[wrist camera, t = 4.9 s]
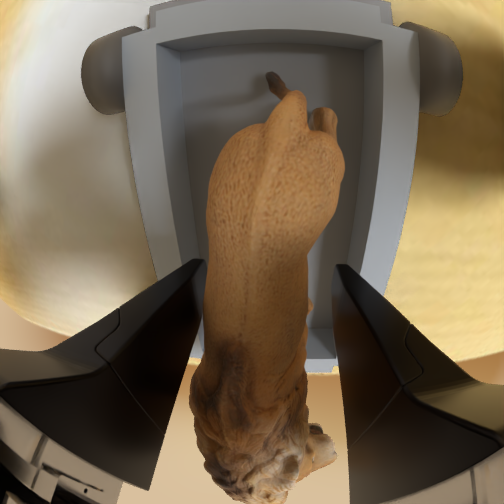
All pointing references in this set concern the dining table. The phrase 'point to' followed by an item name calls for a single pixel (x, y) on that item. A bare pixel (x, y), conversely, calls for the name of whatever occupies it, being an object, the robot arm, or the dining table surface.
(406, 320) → the robot arm
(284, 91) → the lion figurine
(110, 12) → the dining table surface
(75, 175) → the dining table surface
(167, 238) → the chassis
